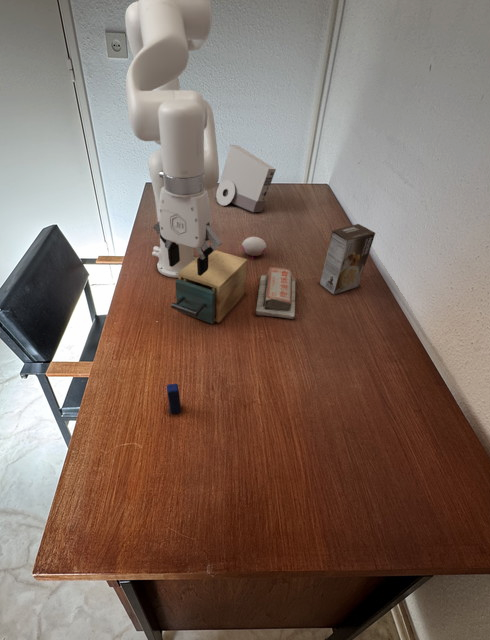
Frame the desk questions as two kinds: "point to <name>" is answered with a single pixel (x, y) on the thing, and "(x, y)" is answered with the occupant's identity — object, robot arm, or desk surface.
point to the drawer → (196, 300)
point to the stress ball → (254, 246)
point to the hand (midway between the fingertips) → (188, 267)
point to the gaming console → (244, 180)
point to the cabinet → (221, 279)
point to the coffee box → (346, 258)
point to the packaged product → (276, 294)
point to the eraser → (173, 398)
